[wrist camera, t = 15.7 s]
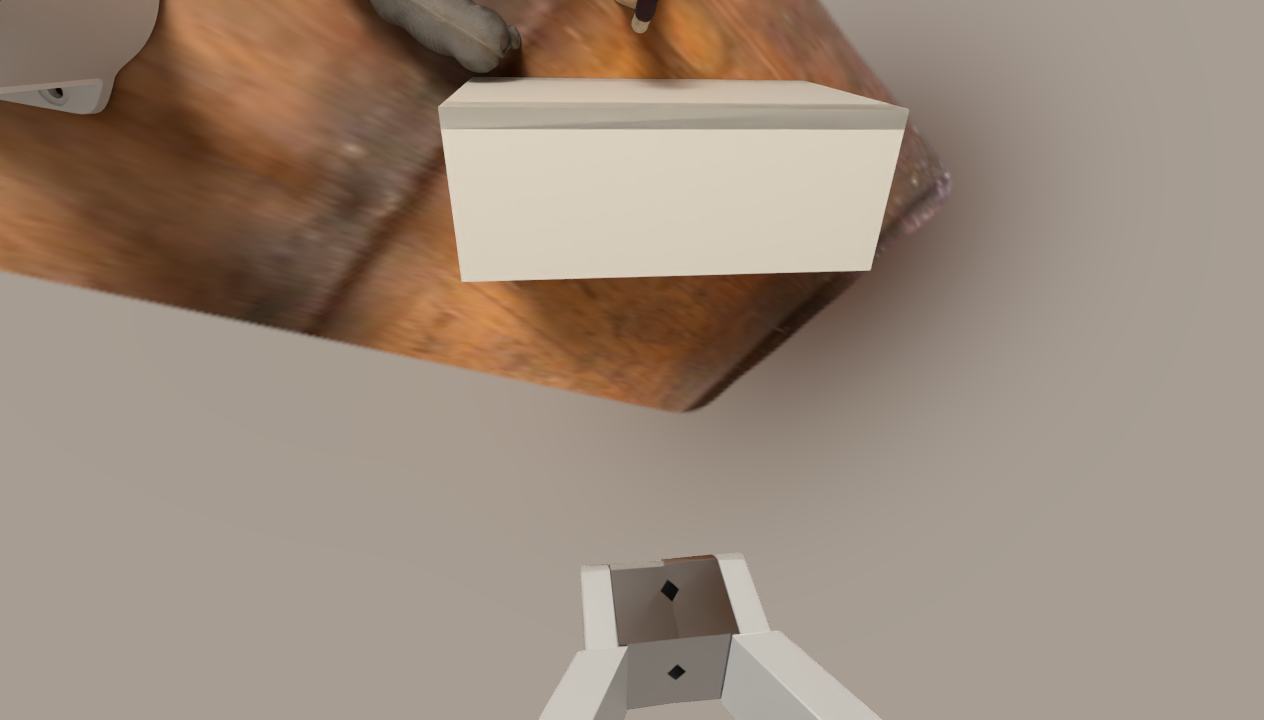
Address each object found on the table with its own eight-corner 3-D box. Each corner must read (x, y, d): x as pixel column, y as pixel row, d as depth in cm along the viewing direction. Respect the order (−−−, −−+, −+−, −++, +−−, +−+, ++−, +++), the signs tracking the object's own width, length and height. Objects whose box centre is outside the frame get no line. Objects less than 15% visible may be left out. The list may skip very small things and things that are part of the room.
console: (487, 213, 46) (463, 291, 33) (472, 76, 41) (437, 106, 28) (783, 208, 48) (868, 279, 36) (803, 80, 44) (909, 109, 31)
